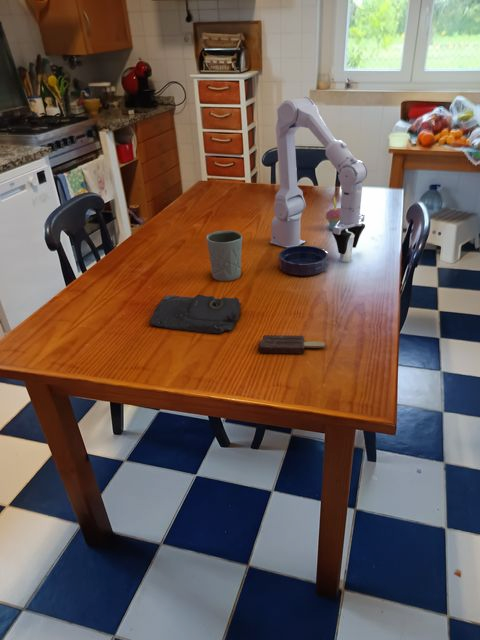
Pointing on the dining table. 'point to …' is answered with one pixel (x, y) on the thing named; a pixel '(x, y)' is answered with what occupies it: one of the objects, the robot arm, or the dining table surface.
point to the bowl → (303, 260)
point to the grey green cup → (225, 254)
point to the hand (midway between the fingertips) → (347, 250)
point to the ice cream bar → (286, 344)
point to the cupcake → (333, 215)
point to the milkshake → (348, 249)
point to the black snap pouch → (197, 313)
